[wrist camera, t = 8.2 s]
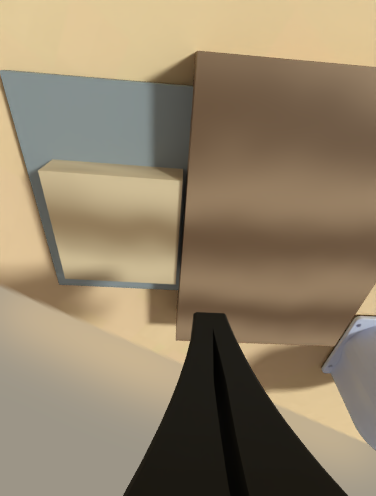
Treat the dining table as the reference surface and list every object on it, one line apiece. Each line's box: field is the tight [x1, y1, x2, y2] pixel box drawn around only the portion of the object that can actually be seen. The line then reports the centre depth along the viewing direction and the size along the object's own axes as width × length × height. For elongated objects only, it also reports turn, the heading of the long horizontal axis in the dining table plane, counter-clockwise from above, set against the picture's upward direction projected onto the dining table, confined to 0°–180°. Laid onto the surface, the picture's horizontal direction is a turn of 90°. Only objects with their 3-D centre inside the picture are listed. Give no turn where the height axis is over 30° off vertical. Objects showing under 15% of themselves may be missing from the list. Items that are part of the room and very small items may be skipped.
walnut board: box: [176, 51, 376, 346], centre depth 19 cm, size 20×14×3 cm
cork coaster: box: [38, 159, 183, 284], centre depth 18 cm, size 8×8×2 cm
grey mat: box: [0, 70, 193, 290], centre depth 18 cm, size 15×10×1 cm, turn 176°
